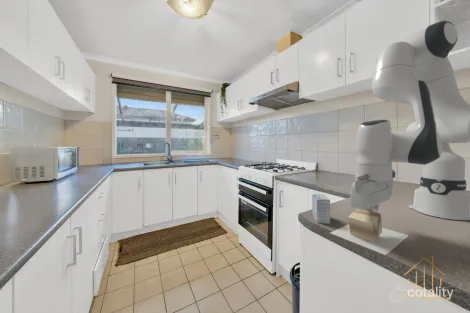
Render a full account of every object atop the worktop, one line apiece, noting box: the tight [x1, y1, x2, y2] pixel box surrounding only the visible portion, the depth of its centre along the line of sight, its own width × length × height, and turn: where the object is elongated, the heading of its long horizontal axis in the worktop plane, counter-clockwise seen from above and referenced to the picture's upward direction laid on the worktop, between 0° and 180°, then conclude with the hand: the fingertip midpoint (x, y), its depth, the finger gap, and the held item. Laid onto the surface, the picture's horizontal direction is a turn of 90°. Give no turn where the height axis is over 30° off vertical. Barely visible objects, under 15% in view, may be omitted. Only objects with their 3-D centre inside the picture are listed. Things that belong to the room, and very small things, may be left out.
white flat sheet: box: [330, 223, 409, 256], centre depth 55 cm, size 18×14×1 cm
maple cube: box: [347, 208, 383, 243], centre depth 53 cm, size 6×6×6 cm
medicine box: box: [311, 193, 331, 225], centre depth 67 cm, size 8×4×9 cm, turn 168°
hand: (371, 217), depth 56 cm, fingers closed
